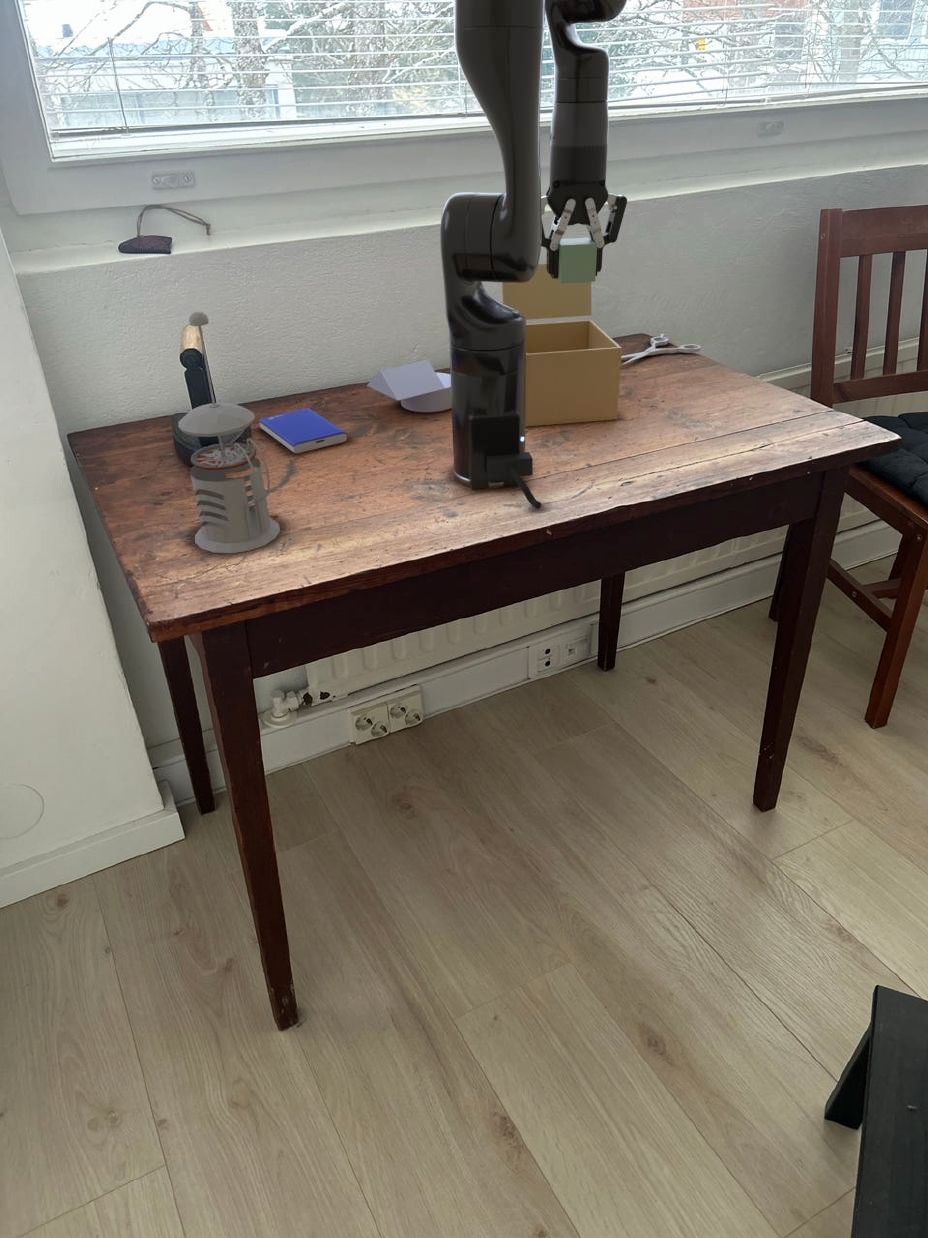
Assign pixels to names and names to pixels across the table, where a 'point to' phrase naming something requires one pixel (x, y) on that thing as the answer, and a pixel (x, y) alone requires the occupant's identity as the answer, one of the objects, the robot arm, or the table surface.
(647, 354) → the scissors
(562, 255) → the block
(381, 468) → the table surface
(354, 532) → the table surface
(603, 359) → the carton
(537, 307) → the flap
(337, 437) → the hard drive
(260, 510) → the french press
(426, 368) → the wedge on round base
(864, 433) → the table surface
